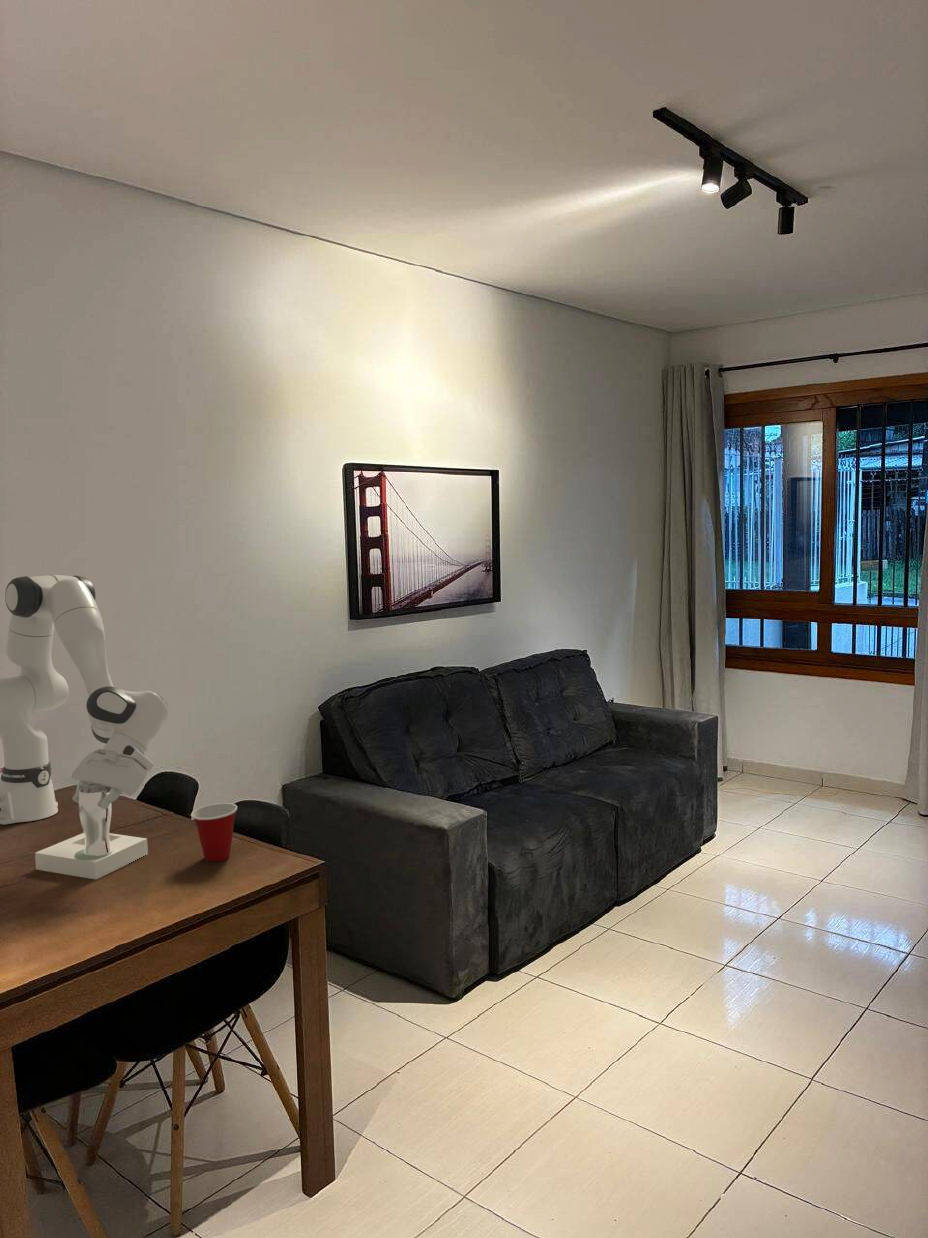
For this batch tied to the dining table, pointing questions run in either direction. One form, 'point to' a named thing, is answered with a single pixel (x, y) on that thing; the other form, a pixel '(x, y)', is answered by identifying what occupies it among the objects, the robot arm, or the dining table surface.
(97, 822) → the beer glass
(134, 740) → the robot arm
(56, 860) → the pale board
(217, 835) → the plastic cup
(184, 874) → the dining table surface
